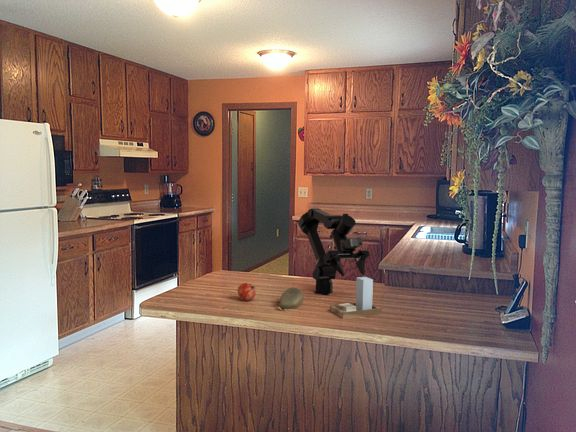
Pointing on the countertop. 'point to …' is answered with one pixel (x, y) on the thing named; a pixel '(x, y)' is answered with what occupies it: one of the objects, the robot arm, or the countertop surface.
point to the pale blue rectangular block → (364, 293)
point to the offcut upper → (347, 307)
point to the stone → (291, 298)
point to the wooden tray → (352, 314)
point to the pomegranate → (246, 292)
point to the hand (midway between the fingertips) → (353, 275)
